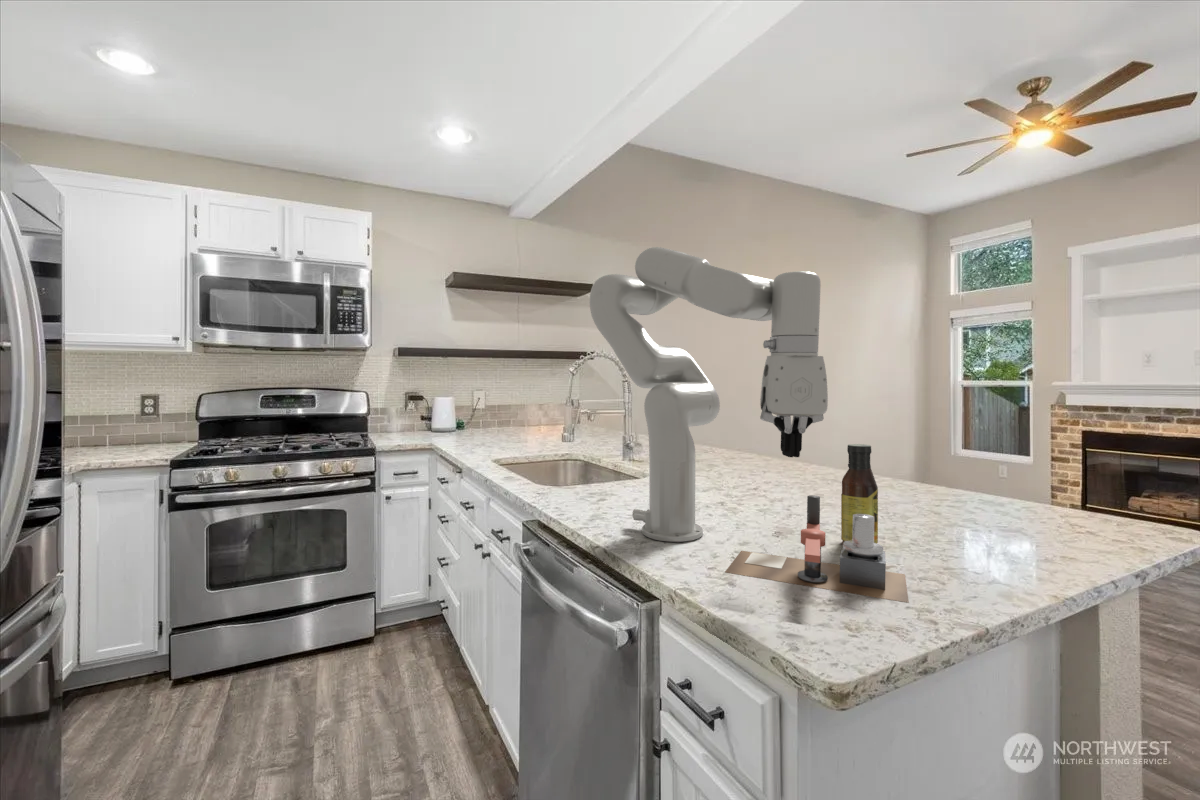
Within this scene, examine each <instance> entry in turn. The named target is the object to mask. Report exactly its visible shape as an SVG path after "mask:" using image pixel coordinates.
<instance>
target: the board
mask: <svg viewBox="0 0 1200 800" xmlns="http://www.w3.org/2000/svg"><path fill="white" fill-rule="evenodd" d="M804 561H805V559H802V558H796V557H788V556H784V555H783V556H782V555H775V554H768V553H762V552H755V551H754V552H753V551H748V550H747V551H746V550H740V551H739V553H737V556H736V557H735V558H734V559H733V560H732V561H731V563H730V564H729V566H728V567H727V568H726V570H725V571H724V573H726V574H731V575H738V576H745V577H752V578H757V579H763V580H769V581H775V582H779V583H787V584H793V585H799V586H805V587H810V588H818V589H822V590H828V591H829V590H830V591H834V592H835V591H836V592H840V593H841V592H842V593H847V594H854V595H859V596H865V597H871V598H877V599H883V600H889V601H896V602H901V603H906V604H907V603H908V604H910V602H909V593H908V586H907V579H906V574H905V573H899V572H892V571H886V573H885V590H881V589H875V588H868V587H862V586H856V585H850V584H843V583H840V564H838V563H837V564H835V563H830V562H823V561H821V573H824V574H826V575H827V577H828V581H827V582H826V583H822V584H813V583H807V582H804V581H802V580H800V579H799V578H798V572H799V571H803V570H804Z"/></svg>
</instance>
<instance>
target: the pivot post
mask: <svg viewBox="0 0 1200 800" xmlns="http://www.w3.org/2000/svg"><path fill="white" fill-rule="evenodd" d="M821 562H822V547H820V563H816V562H807V561H804V570H803V571H799V572H798V578H799V579H800V580H802V581H804V582H807V583H813V584H822V583H826V582H827V581H828V577H827V575H826V574H824V573H821Z"/></svg>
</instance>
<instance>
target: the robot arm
mask: <svg viewBox="0 0 1200 800" xmlns="http://www.w3.org/2000/svg"><path fill="white" fill-rule="evenodd" d="M634 269H635V274H636V276H632V275H627V274H626V275H625V274H620V273H619V274H618V273H614V274H607V275H603V276H601V277H599V278H598V279H596V280H595V281H594V283H593V285H592V286H591V289H590V294H589V308H590V309H589V310H590V311H589V312H590V314H591V318H592V321H593V323H594V325H595V326H596V328H597V330H598V331H599V332H600V334H601V335H602V337H604V339H605V340H606V341H607V343H608V344H609V346H610V347H611V349H612V350H613V352H614V354H615V356H616V357H617V359H618V361H619V362H620V363H621V365H622V366H623V368H624V370H625V371H626V373H627V375H628V376H629V377H630V379H631V381H632V382H633V383H634V385H636V386H637V387H639V388H642V389H650V390H649V391H648V392H647V394H646V396H645V398H644V405H643V407H644V415H645V421H646V426H647V432H648V449H649V450H648V453H649V454H648V460H649V478H648V479H649V484H648V485H649V488H648V489H649V494H648V495H649V498H648V499H649V503H648V504H649V506H648V507H649V509H648V508H647V510H643V509H636V508H634V509H633V510H632V518H633V520H634V521H643V523H644V524H643V525H642V526H641V527H642V528H641V533H642V535H644V536H645V537H647V538H649V539H651V540H656V541H661V542H671V543H678V542H681V543H682V542H683V543H684V542H689V541H695V540H698V539H700V538H701V537H702V536H703V535H704V528H703V527H702V526H701V525H699V524H696V445H695V441H694V438H693V436H692V433H691V431H690V428H689V427H698V426H705V425H708V424H710V423H712V422H713V421H714V420H716V418H718V415H719V412H720V410H721V409H720V407H721V405H720V404H721V403H720V402H721V401H720V398H719V393H717V390H716V388H715V386H714V385H713V383H711V381H710V380H709V378H708V377H707V375H706V374H705V373H704V371H703V369H701V367H700V365H699V364H698V363H697V362H696V360H695V359H694V357H692V355H691V354H690V353H688V351H686V350H685V349H683V348H681V347H679V346H673V345H661V344H658V343H656V342H655V340H653V339H652V337H651V336H650V335H649V333H648V332H647V330H646V328H645V327H644V326H643V325H642V323H640V322H639V321H638V320H637V319H635V318H634V317H633V316H631V315H637V316H649V315H654V314H655V313H657V312H659V311H660V310H662V309H663V308H665V307H666V306H668V305H669V304H671V303H673V302H674V301H676V300H677V299H678V298H680V299H682V300H686V301H687V302H688V303H690V304H692V305H694V306H695V307H699V308H701V309H704V310H706V311H710V312H712V313H715V314H718V315H721V316H724V317H728V318H732V319H742V320H749V321H757V322H758V321H759V322H767V321H768V322H769V321H771V329H770V330H771V333H770V337H769V339H767V340H764V341H763V342H762V347H763V348H764V349H768V350H769V353H770V355H766V359H765V364H764V366H763V367H764V368H763V371H762V379H761V386H760V387H761V388H760V399H759V400H760V403H759V405H760V410H761V413H760V416H759V417H760V420H761V421H764V422H767V423H771V424H773V425H774V426H775V427H776V428H777V430H778V431H779V432H780V451H781V453H782V455H783V456H785V457H788V458H800V456H801V451H802V449H803V448H802V447H803V446H802V445H803V434H805V432H806V430H807V429H808V428H809V427H810V426H811V425H812V424H815V423H820V422H822V421H823V420H824V414H825V413H826V412H827V411H828V405H829V404H828V401H829V400H828V399H829V398H828V392H829V391H828V379H827V370H826V369H827V368H826V364H825V360H824V356H823V355H819V339H820V338H819V335H820V317H821V316H820V314H821V313H820V312H821V310H820V309H821V287H822V285H821V278H820V276H819V274H817V273H815V272H811V271H788V272H783V273H780V274H778V275H777V276H775V277H774V279H772V278H767V277H766V278H765V277H761V276H756V275H752V274H746V273H742V272H736V271H733V270H730V269H725V268H721V267H717V266H714V265H712V264H710V262H709V261H708V260H707V259H705V258H704V257H699V256H695V255H691V254H688V253H686V252H683V251H678V250H674V249H671V248H665V247H661V246H660V247H659V246H656V247H655V246H652V247H649V248H647V249H644V250H643V251H641V253H639V255H638V256H637V258H636V260H635V265H634ZM791 416H792V417H791ZM791 418H792V419H791Z"/></svg>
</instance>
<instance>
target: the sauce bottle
mask: <svg viewBox="0 0 1200 800" xmlns="http://www.w3.org/2000/svg"><path fill="white" fill-rule="evenodd" d="M846 450H847V453H848V464H847V467H848V469H847V471H846V472H845V474H844V476H843V477H842V479H841V497H840V498H841V499H840V500H841V501H840V502H841V503H840V505H841V506H840V507H841V508H840V510H841V511H840V513H841V515H840V518H841V519H840V522H841V528H840V529H841V530H840V531H841V533H840V537H841V538H840V540H841V541H842V542H841V543H842V545H843V543H844V542H845V541H848V540H852V537H853V515H854V514H867V515H871V516H874V543H877V544H879V542H878V541H879V522H878V521H879V487H878V484H877V481H876V479H875V476H874V473H873V471H872V466H871V454H872V446H871V445H870V444H864V443H863V444H862V443H861V444H860V443H853V444H851V443H850V444H847V449H846Z"/></svg>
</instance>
